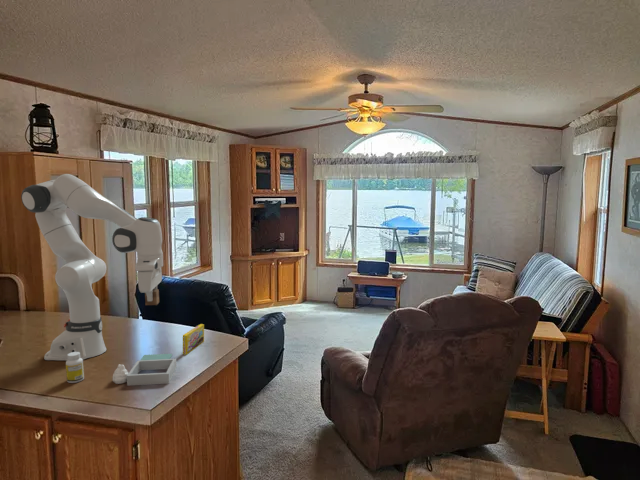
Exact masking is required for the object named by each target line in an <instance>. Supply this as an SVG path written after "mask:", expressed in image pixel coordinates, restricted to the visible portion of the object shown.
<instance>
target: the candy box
mask: <svg viewBox="0 0 640 480" xmlns="http://www.w3.org/2000/svg"><path fill="white" fill-rule="evenodd" d="M204 342H205V324H203V323H200V324H198V325H196V326H195V327H193V328H192V329H191V330H189V331H187V332H186V333H184V334H182V355H185V356H187V355H188V354H189V353H191V352H192V351H194V350H195V349H196V348H197V347H199V346H200V345H202V344H203V343H204Z"/></svg>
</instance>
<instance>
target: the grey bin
mask: <svg viewBox="0 0 640 480" xmlns="http://www.w3.org/2000/svg"><path fill="white" fill-rule="evenodd" d="M176 369H177V358H171V359H159V360H141V359H140V360H139V359H138V360H137V361H136V362H135V363H134V364H133V366H132V368H131V369H130V371H128V375H127V382H126V386H128V387H129V386H141V385H142V386H145V385H159V384H160V385H162V384H163V385H164V384H165V385H166V384H170V382H171V380H172V378H173V376H174V374H175V372H176ZM155 370H156V371H157V370H158V371H159V370H166V371H165V372H152V373H150V372H149V373H140V371H155Z"/></svg>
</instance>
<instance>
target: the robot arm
mask: <svg viewBox="0 0 640 480" xmlns="http://www.w3.org/2000/svg"><path fill="white" fill-rule="evenodd" d="M20 198H21V202H22V204H23V207H24V208H25V209H26V210H28V211H29V212H30V213H35V214H34V215H35V219H36V223H37V225H38V227H39V230H40V232H41V234H42V235H43V237H44V240H45V241H46V242H47V245H48V246H49V249H50V250H51V251H52V253H53V254H54V256H56V257H59V258H60V259H62V260H63V261H64V262H65V263H66V264H64V265H62V266H61V267H60V268H58V269H57V270H56V273H55V276H54V279H55V283H56V284H57V286H58V287H59V288H61V290H63V292H64V295H65V297H66V299H67V303H68V310H69V312H68V313H69V319H68V320H67V321H65V323H64V324H63V328H65V330H64V331H63V332H62V333H60V334H59V335H57V336H56V337H55V338H54V339H53V340H52V342H51V344H50V350H48V351H47V352H46V353H45V354H44V355H43V356H44V357H43V358H44V360H45V361H67V360H68V358H67V354H69V353H72V352H80V358H82V359H83V361H84V360H86V359H89V358H93V357H96V356H99V355H102V354H103V353H105V352H106V351H107V347H106V344H105V341H104V338H103V337H104V336H103V322H102V317H101V311H100V306H101V305H100V299H99V297H98V296H96V295H95V292H94V290H93V284H94V283H97V282H99V281H100V280H101V279H103V277H105V275H106V273H107V264H106V262H105V261H104V260H103V259H101V258H100V257H98V256H97V255H95V254H94V253H93V251H91V250H90V249H89V248H88V247H87V245H86V244H85V243H84V242H83V240H82V239H81V238H80V235H79V234H78V232H77V230H76V229H75V227H74V226H73V223H72V222H71V220H70V218H69V217H68V215H67V211H66V210H67V209H69V210H70V211H72V212H73V213H74V214H76V215H78V216H80V217H81V218H85V219H93V220H103V221H109V222H111V223H113V224H116V225H117V226H118V228H116V229H115V230H114V231H113V233H112V234H113V235H112V236H111V237H112V238H111V241H112V242H111V243H112V245H113V247H114V249H115V250H116V251H118V252H119V253H124V254H127V253H129V254H130V253H134V252H136V257H137V258H136V264H135V266H134V268H135V271H136V272H137V273H136V274H137V275H136V277H137V284H138V290H139V292H140V293H141V294H142V293H144V294H145V293H146V295H147V301H152V300H153V294H152V292H153V289H158V285H159V284H160V283H161V282H162V281H163V275H162V274H163V273H162V271H163V270H162V268H163V267H164V253H163V250H162V245H163V234H162V226H161V223H160V221H159V220H158V219H157V218H153V217H148V216H147V217H146V216H145V217H135V216H134V215H132V214H131V213H130V212H128V211H127V210H125V209H124V208H122V207H121V206H120V205H118V204H116V203H115V202H113V201H111V200H110V199H108V198H107V197H105V196H103V195H102V194H101V193H100V192H99V191H97V190H96V189H94V187H91V186H90V185H89V184H88V183H86V182H85V181H83V179H80V178H78V177H77V176H75V175H74V174H71V173H70V174H69V173H63V174H61V175H59V176H58V177H56V178H55V179H51V180H47V181H44V182H40V183H37V184H31V185H28V186H27V187H25V188H24V189H22V192H21V195H20Z"/></svg>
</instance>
